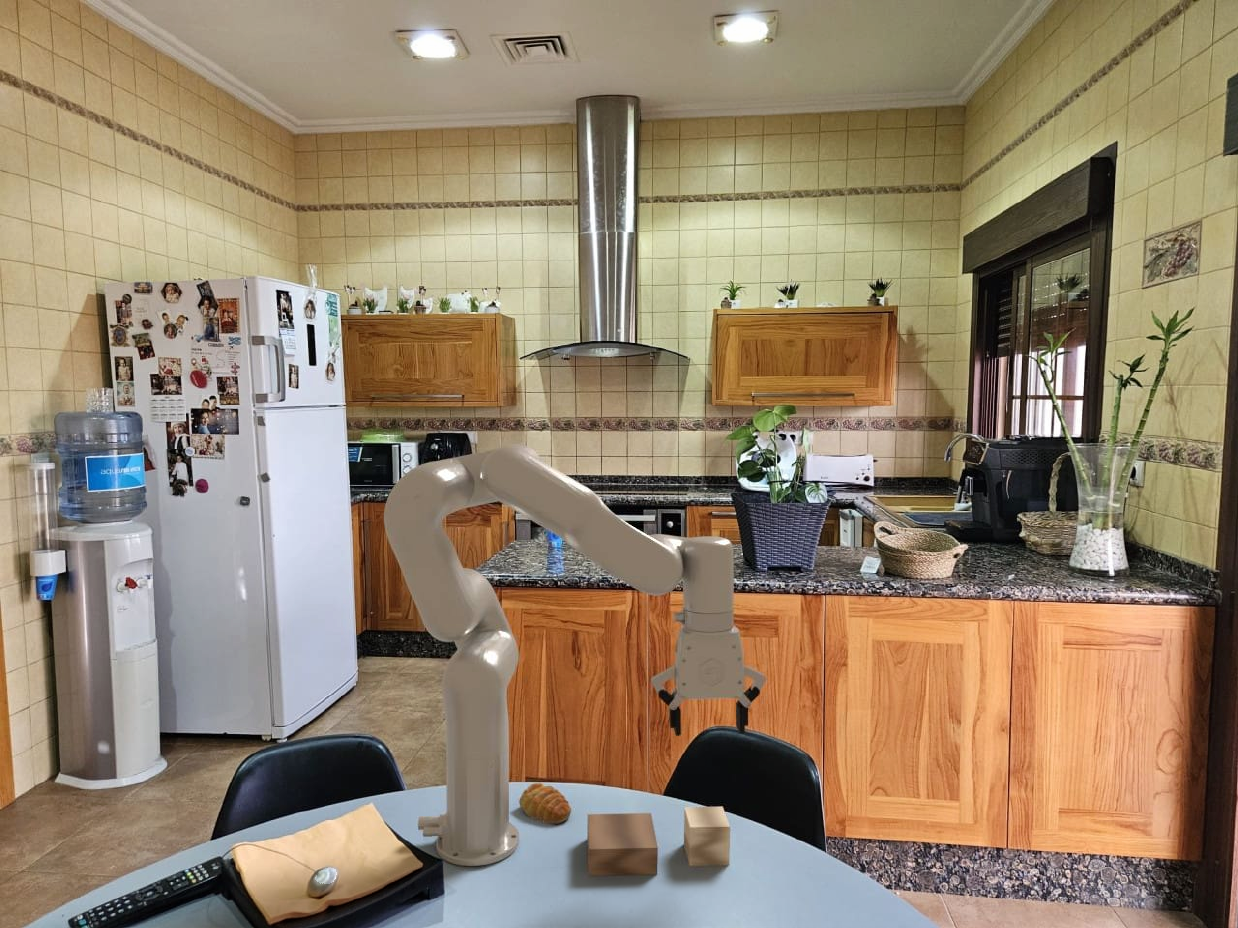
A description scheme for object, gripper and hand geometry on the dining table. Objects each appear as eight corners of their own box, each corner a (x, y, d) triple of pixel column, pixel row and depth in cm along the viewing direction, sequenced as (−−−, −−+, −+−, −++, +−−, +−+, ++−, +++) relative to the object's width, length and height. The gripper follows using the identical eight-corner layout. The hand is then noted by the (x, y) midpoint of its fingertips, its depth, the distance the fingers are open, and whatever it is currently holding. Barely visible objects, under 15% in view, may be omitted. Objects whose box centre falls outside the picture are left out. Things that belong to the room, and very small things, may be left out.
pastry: (581, 816, 132) (581, 794, 132) (550, 831, 127) (550, 808, 127) (544, 797, 139) (544, 776, 138) (514, 811, 134) (514, 789, 134)
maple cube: (689, 866, 118) (690, 827, 117) (683, 844, 124) (684, 807, 123) (729, 865, 118) (730, 826, 118) (721, 843, 124) (722, 806, 124)
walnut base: (588, 875, 115) (588, 848, 115) (587, 838, 125) (587, 814, 125) (657, 874, 116) (657, 847, 115) (650, 837, 125) (651, 812, 125)
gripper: (653, 627, 115) (654, 743, 116) (771, 624, 115) (771, 739, 117) (648, 614, 122) (649, 723, 123) (759, 612, 123) (759, 719, 124)
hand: (708, 731), depth 120 cm, fingers open, 9 cm apart
